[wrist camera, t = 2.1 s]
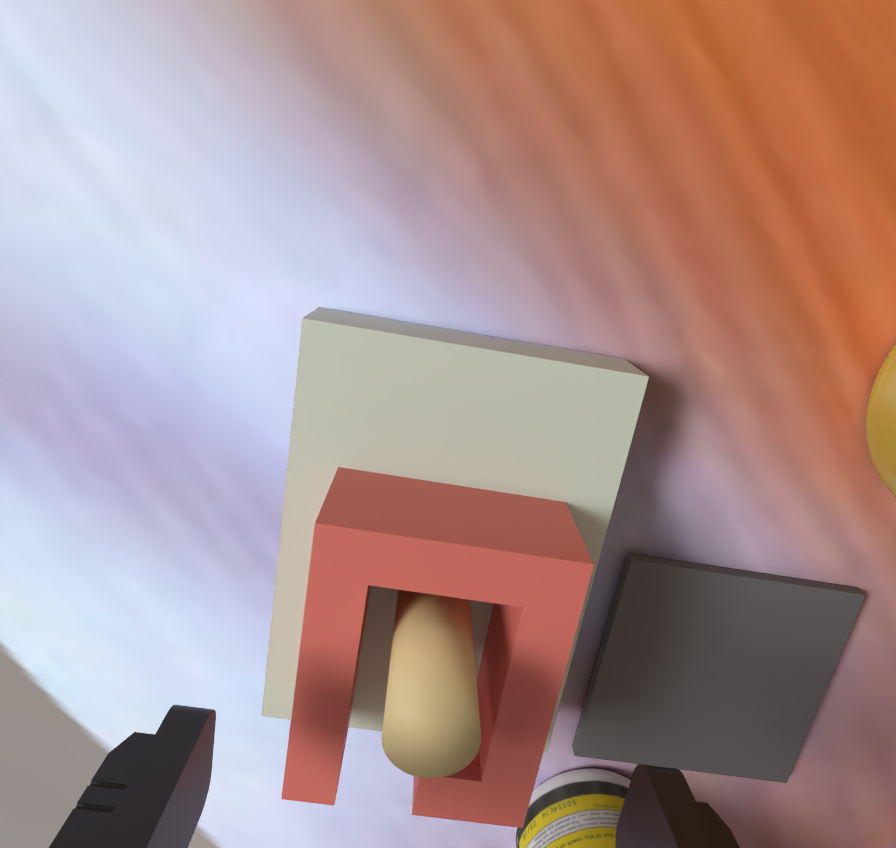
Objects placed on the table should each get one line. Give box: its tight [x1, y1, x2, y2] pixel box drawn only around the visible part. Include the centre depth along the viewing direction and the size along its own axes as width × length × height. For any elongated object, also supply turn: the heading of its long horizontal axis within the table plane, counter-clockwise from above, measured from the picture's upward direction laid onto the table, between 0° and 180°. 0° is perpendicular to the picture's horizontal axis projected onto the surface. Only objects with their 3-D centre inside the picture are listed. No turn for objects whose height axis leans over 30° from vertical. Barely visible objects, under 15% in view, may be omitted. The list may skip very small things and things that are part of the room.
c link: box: [282, 467, 594, 828], centre depth 15 cm, size 7×6×3 cm
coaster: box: [572, 553, 865, 783], centre depth 19 cm, size 7×7×1 cm
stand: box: [262, 307, 649, 778], centre depth 15 cm, size 11×8×7 cm
